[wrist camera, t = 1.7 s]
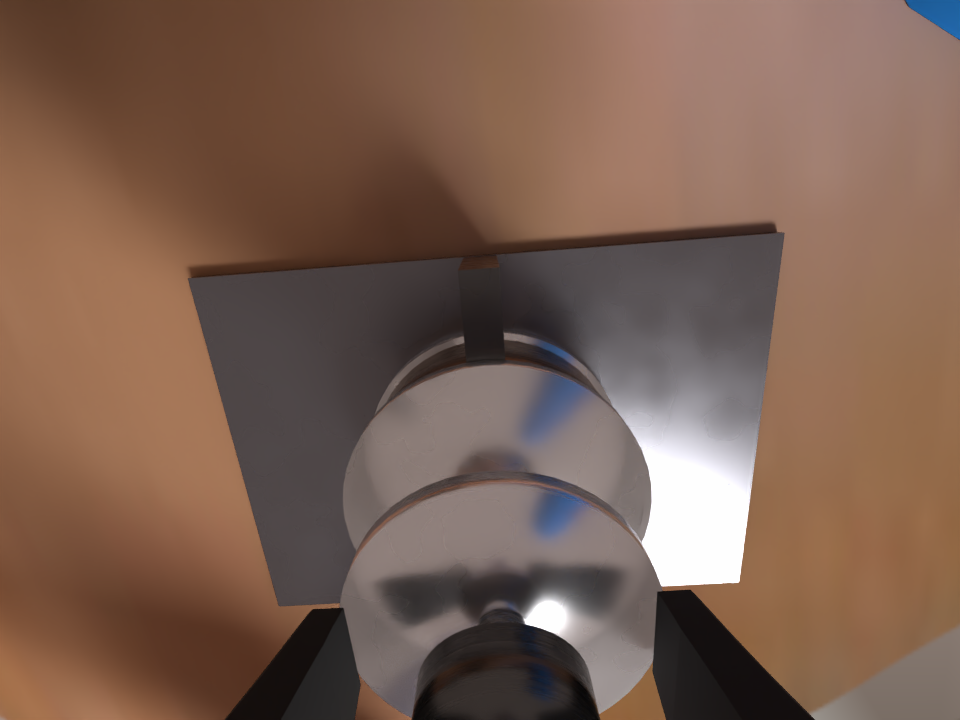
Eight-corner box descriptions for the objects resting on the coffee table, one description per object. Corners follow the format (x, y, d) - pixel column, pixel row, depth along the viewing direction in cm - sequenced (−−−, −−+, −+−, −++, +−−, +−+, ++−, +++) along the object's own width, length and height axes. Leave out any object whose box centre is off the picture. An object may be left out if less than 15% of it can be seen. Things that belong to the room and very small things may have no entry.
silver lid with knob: (647, 703, 10) (708, 889, 8) (372, 716, 11) (332, 900, 8) (662, 459, 8) (751, 587, 6) (321, 480, 9) (243, 614, 6)
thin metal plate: (734, 576, 18) (798, 669, 14) (282, 600, 18) (232, 695, 15) (778, 232, 14) (882, 241, 10) (193, 277, 14) (95, 300, 11)
